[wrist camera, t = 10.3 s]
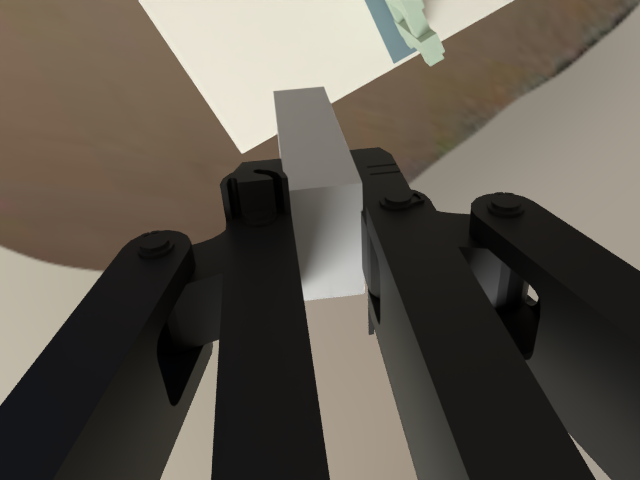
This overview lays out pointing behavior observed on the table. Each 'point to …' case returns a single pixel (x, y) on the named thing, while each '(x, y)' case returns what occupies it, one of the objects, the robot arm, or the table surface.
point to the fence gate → (416, 29)
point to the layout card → (290, 49)
